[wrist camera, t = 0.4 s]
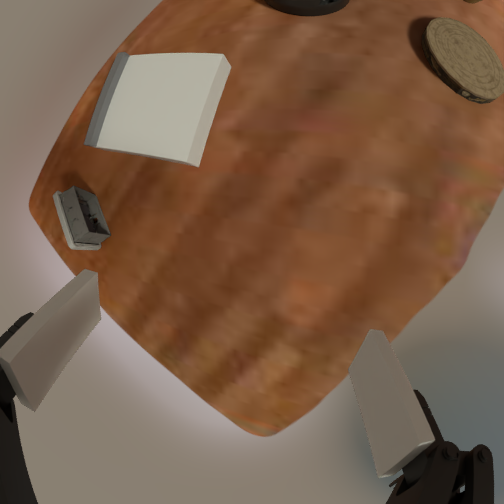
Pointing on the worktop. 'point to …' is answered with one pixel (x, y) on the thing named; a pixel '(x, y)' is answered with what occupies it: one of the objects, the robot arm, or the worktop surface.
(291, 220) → the worktop surface
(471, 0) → the plant pot
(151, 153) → the white square box
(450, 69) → the brown round disc
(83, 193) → the electrical switch
